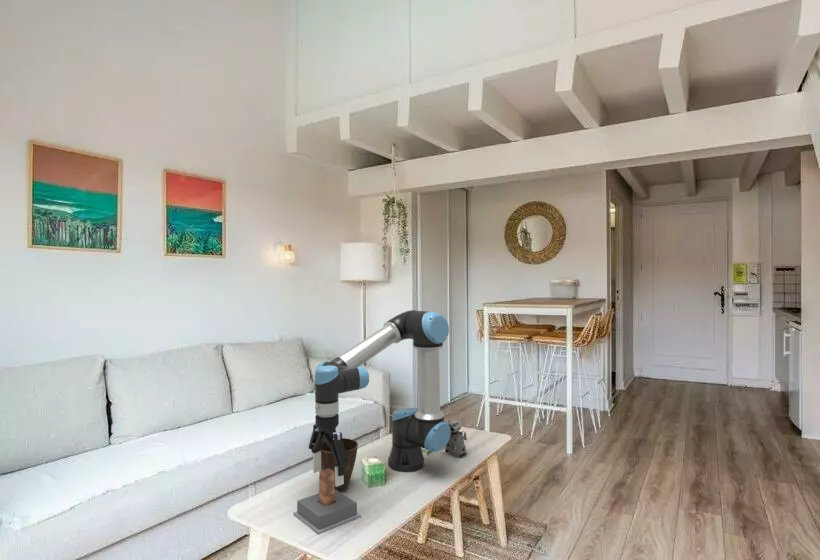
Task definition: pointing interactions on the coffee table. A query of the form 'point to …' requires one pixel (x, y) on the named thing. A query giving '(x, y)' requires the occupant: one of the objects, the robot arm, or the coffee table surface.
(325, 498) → the peg
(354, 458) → the plant pot
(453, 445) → the figurine
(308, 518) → the socket block
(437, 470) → the coffee table surface
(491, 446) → the coffee table surface
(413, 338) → the robot arm
